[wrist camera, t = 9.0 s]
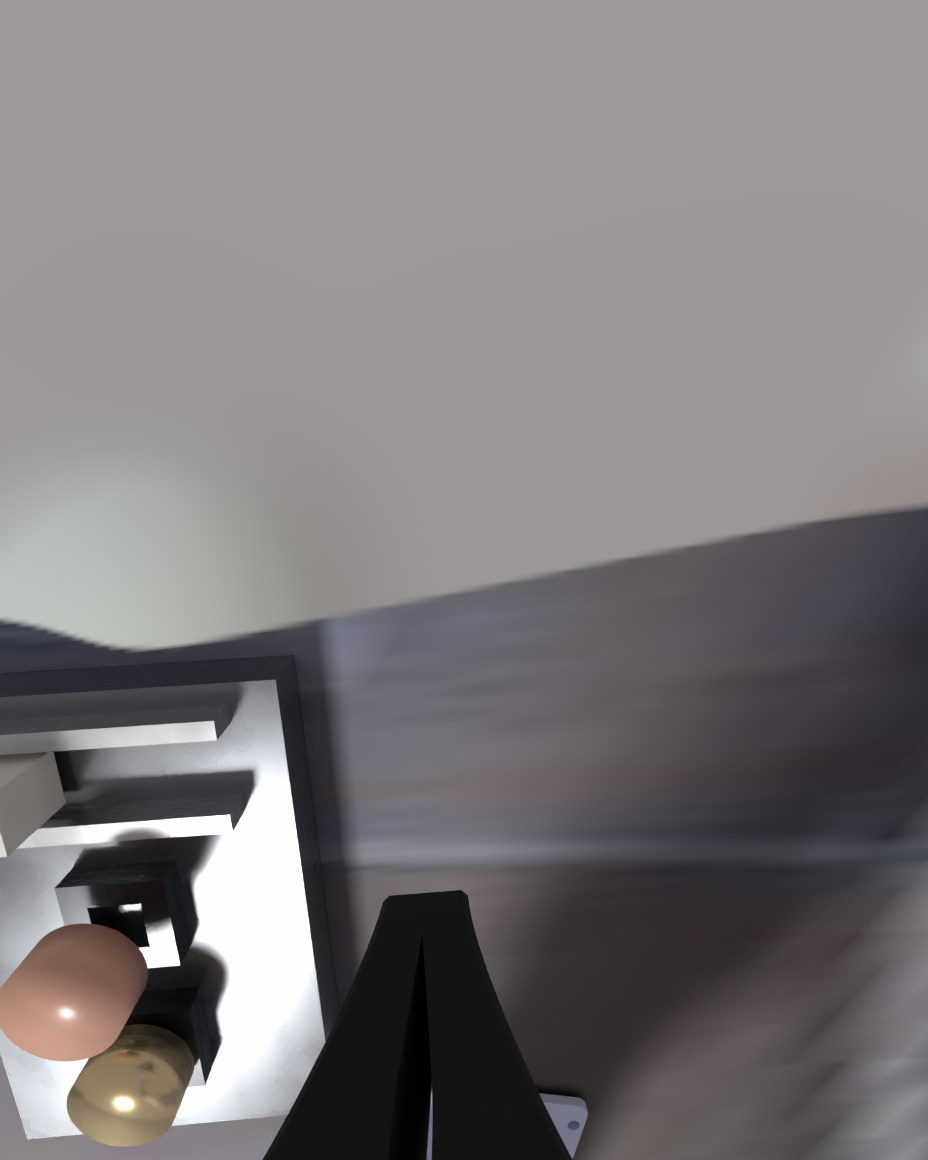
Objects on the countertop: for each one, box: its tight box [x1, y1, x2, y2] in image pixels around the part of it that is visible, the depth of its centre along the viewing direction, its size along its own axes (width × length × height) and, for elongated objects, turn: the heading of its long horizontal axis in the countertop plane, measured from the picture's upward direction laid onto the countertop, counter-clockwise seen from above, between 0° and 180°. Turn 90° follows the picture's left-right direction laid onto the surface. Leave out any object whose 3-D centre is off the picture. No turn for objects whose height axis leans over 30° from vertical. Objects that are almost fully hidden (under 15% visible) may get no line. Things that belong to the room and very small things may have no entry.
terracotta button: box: [0, 923, 148, 1062], centre depth 15 cm, size 3×3×2 cm
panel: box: [0, 655, 339, 1139], centre depth 18 cm, size 17×11×3 cm, turn 3°
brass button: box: [67, 1024, 194, 1147], centre depth 17 cm, size 3×3×2 cm
